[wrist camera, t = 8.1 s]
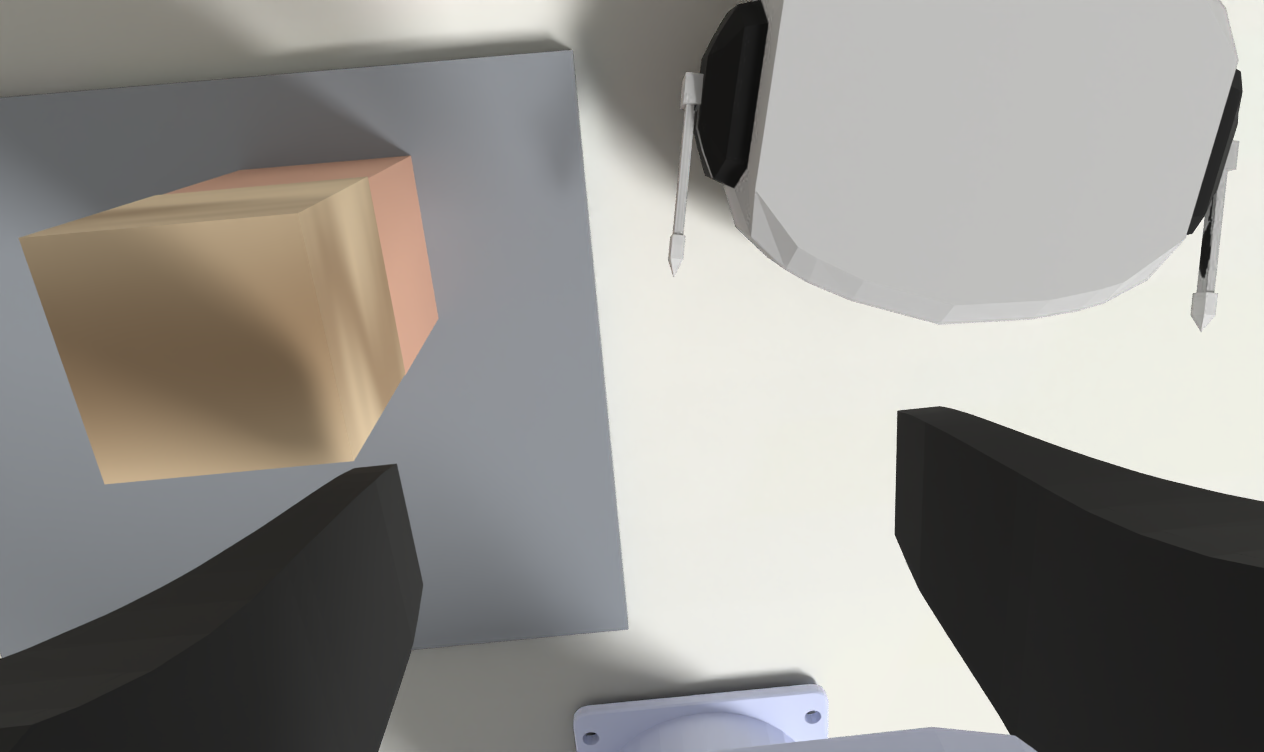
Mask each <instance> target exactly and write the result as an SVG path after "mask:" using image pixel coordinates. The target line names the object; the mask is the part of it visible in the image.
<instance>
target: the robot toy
mask: <svg viewBox="0 0 1264 752" xmlns="http://www.w3.org/2000/svg"><path fill="white" fill-rule="evenodd" d="M1237 64H1238V56H1237V52H1236V47H1235V43H1234V39H1233V35H1232V31H1231V27H1230V23H1229V19H1228V14H1227V10H1226V8H1225V6H1224V5H1223V4H1222V3H1221V1H1220V0H753V1H752V2H748V3H743V4H739V5H737V6H736V7H734V8H733V9H732V10H731V11H729V12H728V13H727V14H726V16H725V18H724V19H723V21H722V23H721V24H720V26H719V28H718V29H717V31H716V33H715V34H714V36H713V38H712V40H711V42H710V44H709V46H708V48H707V50H706V52H705V54H704V56H703V58H702V61H701V69H700V73H692V72H686V74H685V76H684V78H683V80H682V91H681V101H680V109H682V110H684V120H683V131H682V141H681V152H680V162H679V173H678V183H677V194H676V204H675V215H674V225H673V235H672V236H671V237H670V245H669V256H668V261H669V264H670V267H671V270H672V274H673V277H674V276H675V274H676V272H677V270H678V268H679V266H680V264H681V262H682V261H683V256H684V245H685V236H684V235H683V233H684V222H685V212H686V202H687V191H688V181H689V170H690V160H691V149H692V139H693V130H694V135H695V139H696V144H697V148H698V152H699V156H700V159H701V163H702V166H703V170H704V173H705V176H707V177H709V178H712V179H714V180H716V181H718V182H720V183H722V184H723V186H724V190H725V193H726V196H727V200H728V203H729V206H730V210H731V213H732V216H733V220H734V223H735V227H736V228H737V229H738V230H739V231H740V232H741V233H742V234H743V235H745V236H746V237H747V238H748V239H749V240H750V241H751V242H752V243H753V244H754V245H755V246H756V247H757V248H758V249H759V250H760V251H761V252H762V253H763V254H765V255H766V256H767V257H768V258H769V259H771V260H772V261H774V262H775V263H777V264H778V265H779V266H781V267H782V268H784V269H785V270H787V271H789V272H790V273H792V274H794V275H795V276H797V277H799V278H801V279H802V280H804V281H806V282H808V283H810V284H812V285H815V286H817V287H819V288H822V289H824V290H827V291H829V292H831V293H834V294H836V295H839V296H841V297H843V298H846V299H848V300H851V301H854V302H858V303H861V304H865V305H869V306H872V307H876V308H880V309H884V310H887V311H891V312H895V313H898V314H902V315H906V316H910V317H913V318H917V319H921V320H924V321H928V322H932V323H936V324H956V323H974V322H992V321H1011V320H1029V319H1036V318H1042V317H1047V316H1053V315H1059V314H1064V313H1070V312H1075V311H1080V310H1083V309H1087V308H1090V307H1093V306H1097V305H1100V304H1103V303H1105V302H1107V301H1109V300H1111V299H1113V298H1115V297H1117V296H1118V295H1120V294H1122V293H1124V292H1126V291H1128V290H1130V289H1132V288H1133V287H1135V286H1137V285H1139V284H1141V283H1143V282H1145V281H1147V280H1148V279H1149V278H1150V277H1151V276H1152V274H1153V273H1154V272H1155V271H1156V270H1157V269H1158V268H1159V267H1160V266H1161V265H1162V263H1163V262H1164V261H1165V260H1166V259H1167V258H1168V257H1169V256H1170V255H1171V254H1172V253H1173V251H1174V250H1175V249H1176V248H1177V247H1178V246H1179V245H1180V244H1181V243H1182V242H1183V241H1184V239H1185V238H1186V235H1189V234H1192V233H1193V232H1194V230H1195V229H1196V228H1197V226H1198V225H1199V223H1200V222H1201V220H1202V219H1203V218H1204V216H1205V219H1204V229H1203V238H1202V247H1201V256H1200V265H1199V275H1198V284H1197V293H1193V298H1192V307H1191V317H1192V318H1193V320H1194V321H1195V323H1196V325H1197V326H1198V328H1199V330H1200V331H1201V332H1202V331H1203V329H1204V328H1205V327H1206V326H1207V325H1208V324H1209V322H1210V321H1211V320H1212V319H1213V318H1214V317H1215V315H1216V306H1217V297H1218V293H1214V291H1215V282H1216V273H1217V263H1218V254H1219V245H1220V236H1221V227H1222V218H1223V208H1224V199H1225V190H1226V181H1227V172H1228V171H1232V170H1235V169H1236V166H1237V157H1238V147H1239V141H1234V140H1233V138H1234V134H1235V131H1236V128H1237V124H1238V112H1239V107H1240V102H1241V97H1242V80H1241V72H1240V71H1239V70H1237V69H1236V67H1237Z"/></svg>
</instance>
